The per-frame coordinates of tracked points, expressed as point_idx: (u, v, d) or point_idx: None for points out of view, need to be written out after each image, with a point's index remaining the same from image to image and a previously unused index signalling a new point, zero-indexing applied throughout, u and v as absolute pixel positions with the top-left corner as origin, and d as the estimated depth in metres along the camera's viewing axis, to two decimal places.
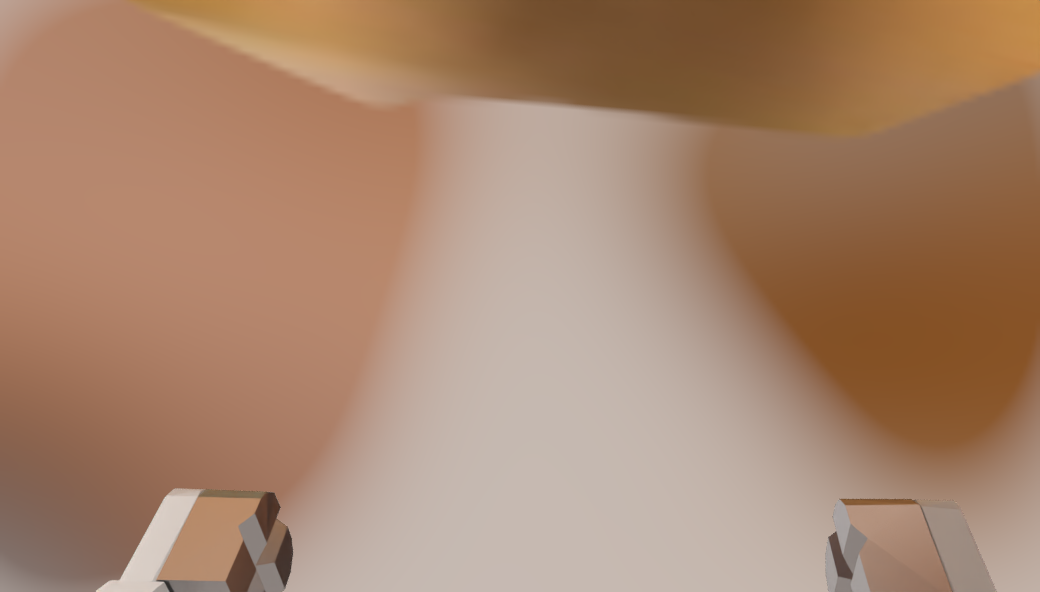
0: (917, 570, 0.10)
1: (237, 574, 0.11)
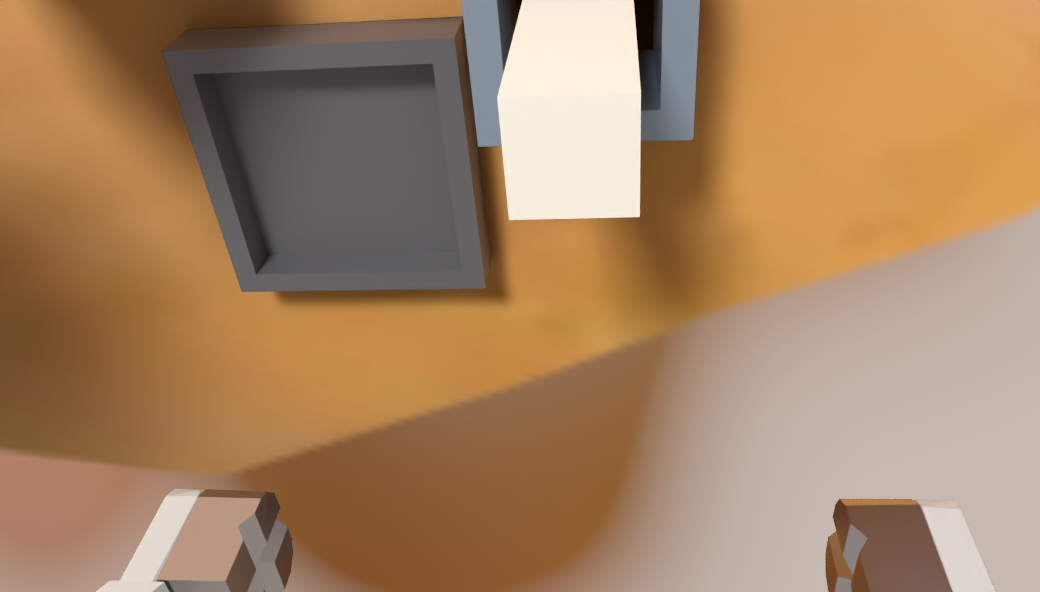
0: (917, 570, 0.10)
1: (237, 574, 0.11)
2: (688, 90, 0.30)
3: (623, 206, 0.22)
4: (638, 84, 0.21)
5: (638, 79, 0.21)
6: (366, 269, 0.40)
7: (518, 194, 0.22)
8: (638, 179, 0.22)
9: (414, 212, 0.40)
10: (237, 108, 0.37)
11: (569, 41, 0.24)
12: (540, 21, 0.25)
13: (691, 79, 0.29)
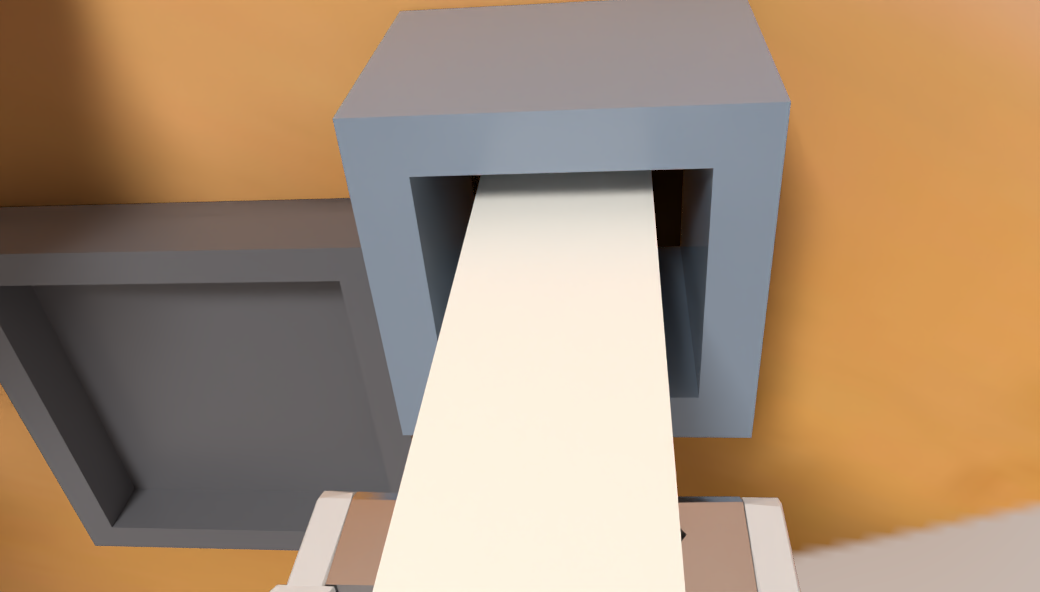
0: (727, 565, 0.10)
1: None
2: (747, 372, 0.18)
3: None
4: None
5: None
6: (267, 522, 0.28)
7: None
8: None
9: (334, 446, 0.28)
10: (66, 315, 0.25)
11: (535, 418, 0.12)
12: (483, 339, 0.13)
13: (753, 358, 0.17)
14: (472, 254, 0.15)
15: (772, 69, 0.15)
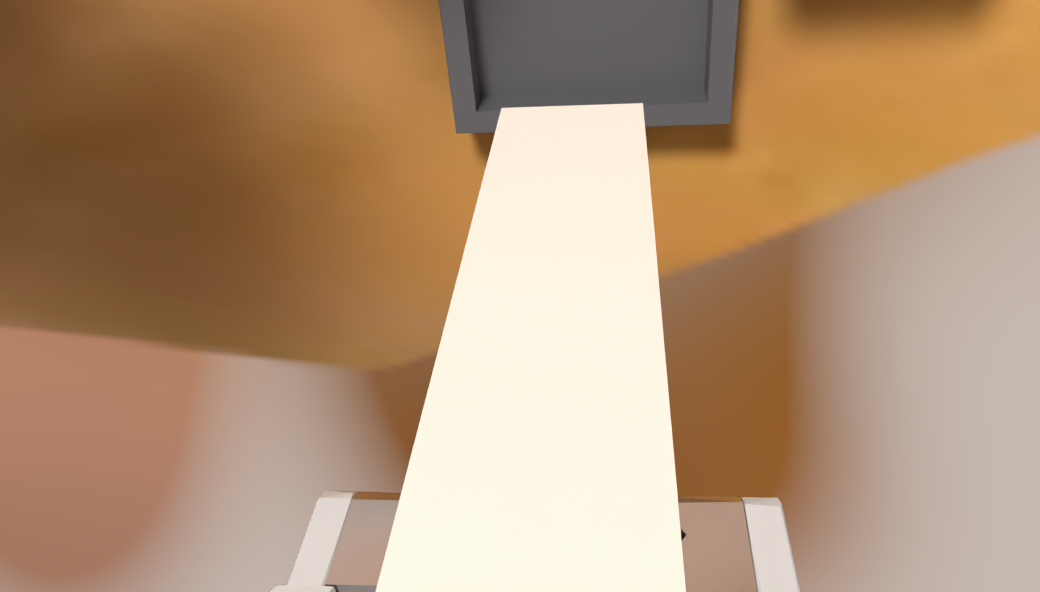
0: (727, 565, 0.10)
1: None
2: None
3: None
4: None
5: None
6: (598, 104, 0.37)
7: None
8: None
9: (653, 40, 0.36)
10: None
11: (536, 421, 0.12)
12: (485, 344, 0.13)
13: None
14: (473, 262, 0.15)
15: None
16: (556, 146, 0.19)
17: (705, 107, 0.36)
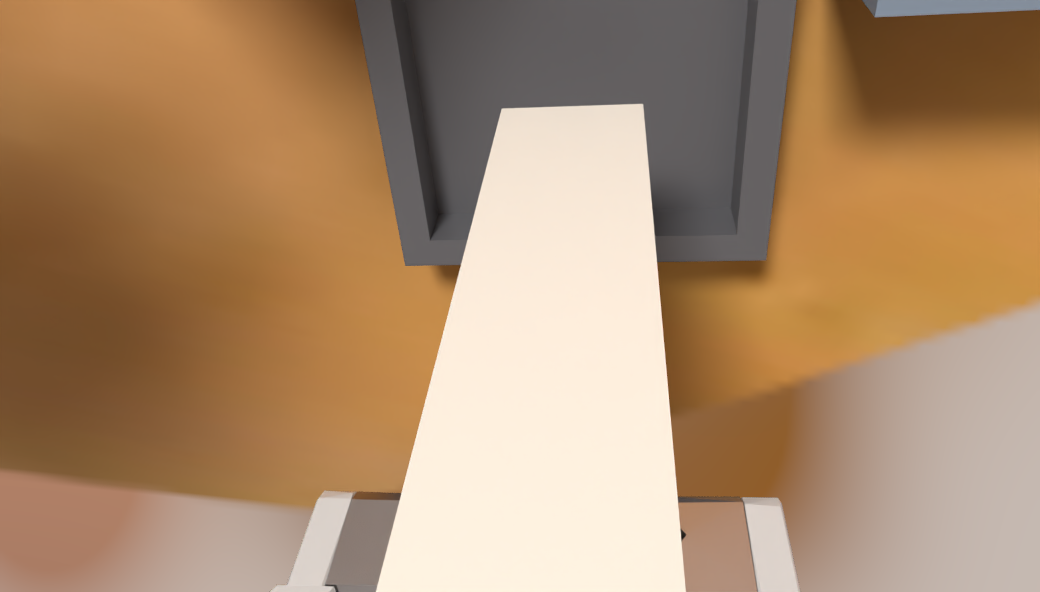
0: (727, 565, 0.10)
1: None
2: None
3: None
4: None
5: None
6: None
7: None
8: None
9: (665, 149, 0.27)
10: None
11: (535, 422, 0.12)
12: (485, 345, 0.13)
13: None
14: (473, 262, 0.15)
15: None
16: (556, 147, 0.19)
17: (733, 240, 0.27)
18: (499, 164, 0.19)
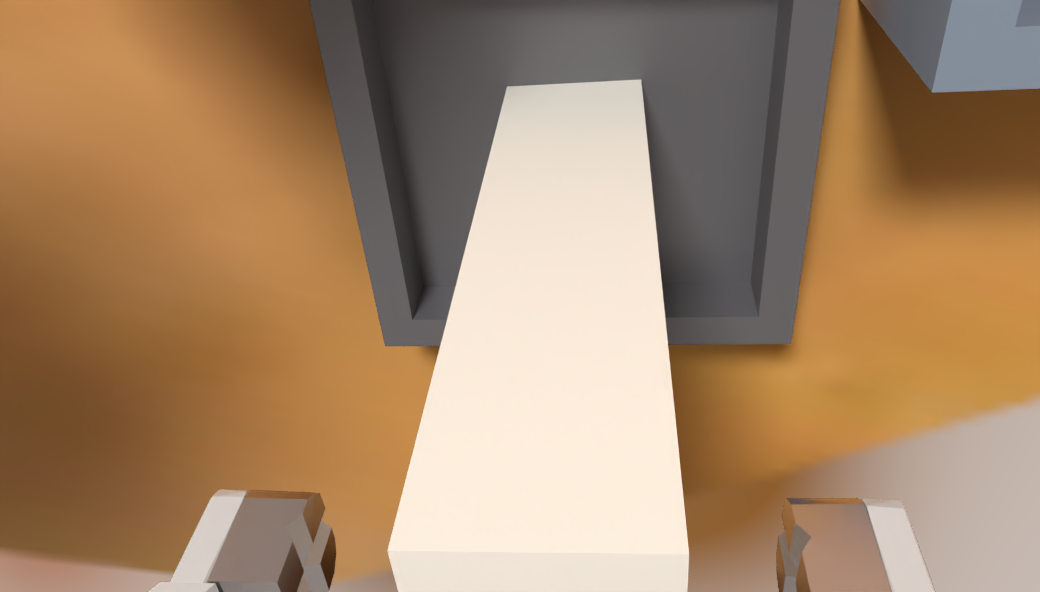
0: (857, 568, 0.10)
1: (287, 575, 0.11)
2: None
3: None
4: (682, 521, 0.10)
5: (680, 501, 0.10)
6: None
7: None
8: None
9: (676, 219, 0.24)
10: (403, 43, 0.22)
11: (545, 351, 0.13)
12: (497, 288, 0.14)
13: None
14: (483, 219, 0.16)
15: None
16: (559, 119, 0.20)
17: (754, 322, 0.24)
18: (506, 135, 0.20)
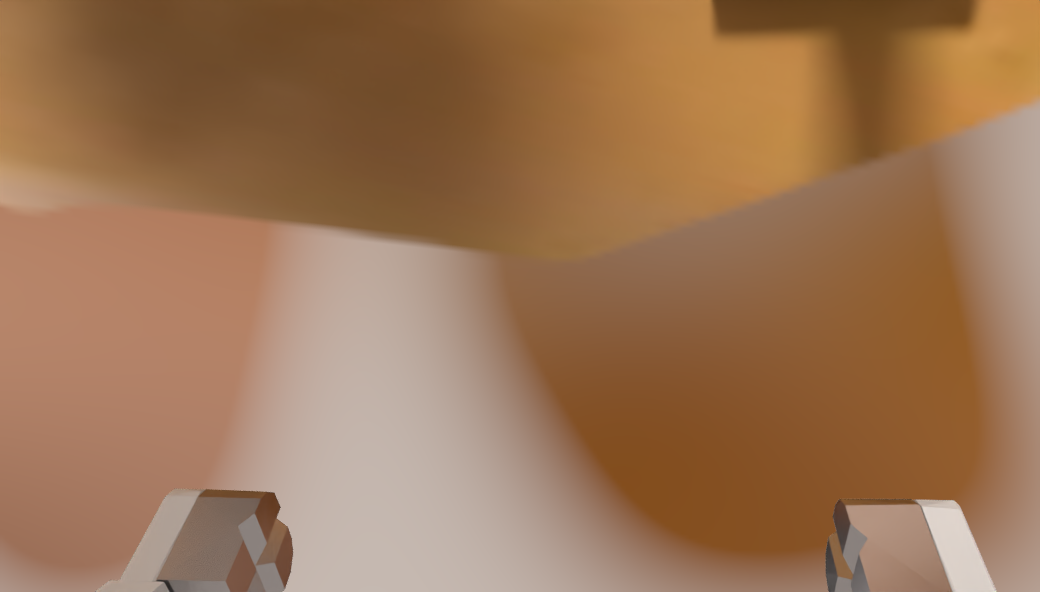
0: (917, 570, 0.10)
1: (237, 574, 0.11)
2: None
3: None
4: None
5: None
6: None
7: None
8: None
9: None
10: None
11: None
12: None
13: None
14: None
15: None
16: None
17: None
18: None
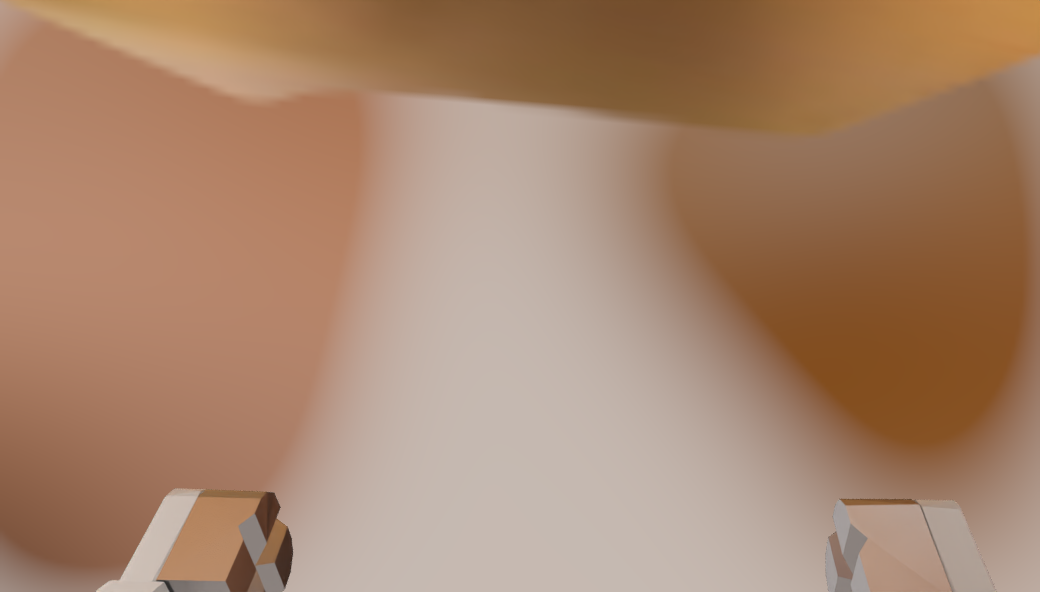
0: (917, 570, 0.10)
1: (237, 574, 0.11)
2: None
3: None
4: None
5: None
6: None
7: None
8: None
9: None
10: None
11: None
12: None
13: None
14: None
15: None
16: None
17: None
18: None
